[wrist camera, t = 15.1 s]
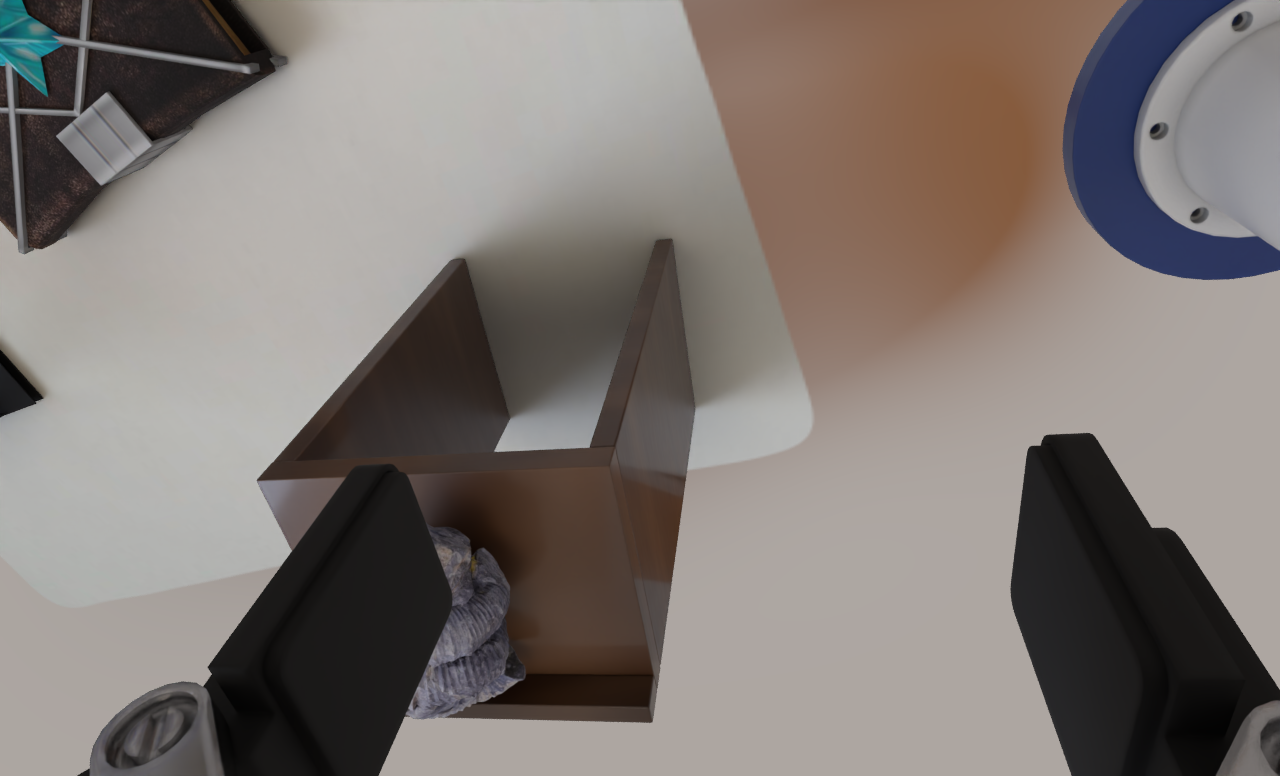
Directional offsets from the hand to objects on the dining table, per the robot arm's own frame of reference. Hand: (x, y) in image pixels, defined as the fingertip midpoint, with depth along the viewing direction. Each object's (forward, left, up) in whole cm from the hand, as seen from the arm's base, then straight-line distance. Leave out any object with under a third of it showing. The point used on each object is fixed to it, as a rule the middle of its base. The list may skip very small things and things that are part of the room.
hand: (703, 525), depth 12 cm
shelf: (+12, +14, -34) cm, 39 cm away
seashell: (+12, +13, -12) cm, 22 cm away
